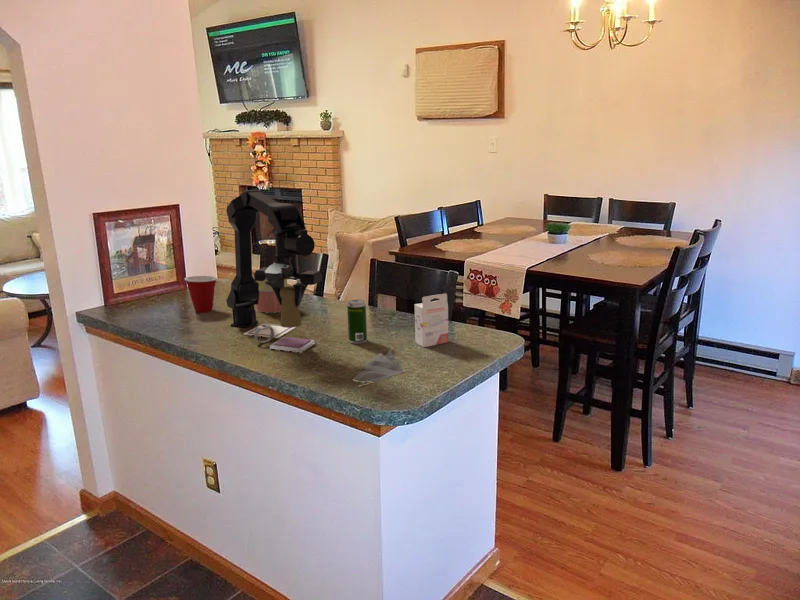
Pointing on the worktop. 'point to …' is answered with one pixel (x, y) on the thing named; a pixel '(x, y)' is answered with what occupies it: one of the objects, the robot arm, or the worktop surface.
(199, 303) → the plastic cup
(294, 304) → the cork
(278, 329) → the marked card
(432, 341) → the ink cartridge box
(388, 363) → the cloth
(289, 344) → the ink pad
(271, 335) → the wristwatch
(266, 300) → the canned food
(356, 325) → the green drink can
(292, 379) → the worktop surface
